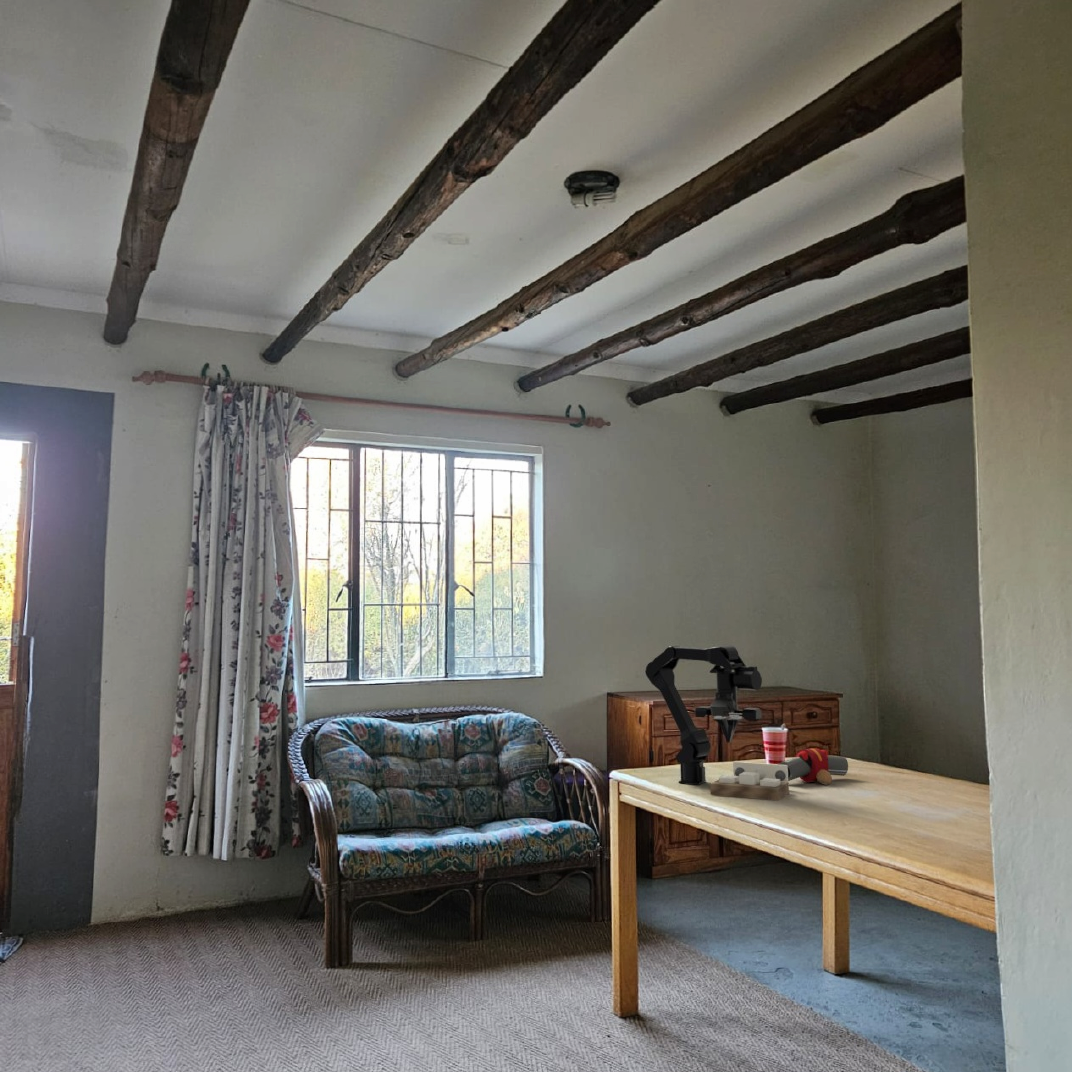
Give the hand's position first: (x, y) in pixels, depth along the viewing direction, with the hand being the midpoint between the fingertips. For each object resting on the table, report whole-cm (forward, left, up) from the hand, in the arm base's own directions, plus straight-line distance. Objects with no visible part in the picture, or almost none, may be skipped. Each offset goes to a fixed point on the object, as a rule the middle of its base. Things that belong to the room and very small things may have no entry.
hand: (728, 742), depth 269 cm
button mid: (+8, -7, -11) cm, 15 cm away
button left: (+2, -7, -13) cm, 14 cm away
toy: (+19, +20, -13) cm, 30 cm away
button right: (+14, -7, -13) cm, 20 cm away
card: (+8, +4, -13) cm, 16 cm away
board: (+8, -6, -13) cm, 17 cm away
